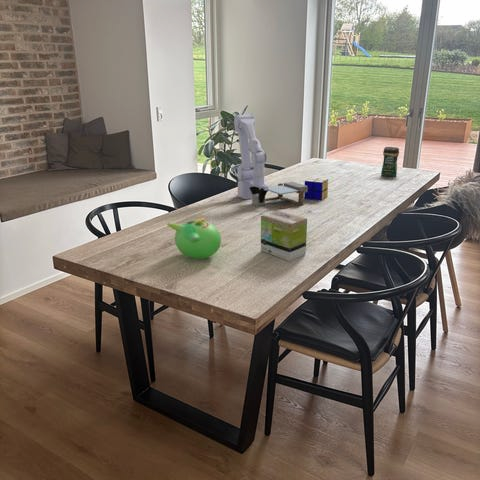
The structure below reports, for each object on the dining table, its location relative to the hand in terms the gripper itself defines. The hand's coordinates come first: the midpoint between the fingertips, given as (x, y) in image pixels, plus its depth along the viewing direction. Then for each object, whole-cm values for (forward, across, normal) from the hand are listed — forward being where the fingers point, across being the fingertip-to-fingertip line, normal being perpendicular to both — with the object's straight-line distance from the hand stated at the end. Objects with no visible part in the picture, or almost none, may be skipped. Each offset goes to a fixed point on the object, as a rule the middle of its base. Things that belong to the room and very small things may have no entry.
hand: (258, 201), depth 254 cm
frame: (+1, +5, +11) cm, 12 cm away
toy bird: (+2, +49, -62) cm, 79 cm away
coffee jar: (+2, -9, +109) cm, 109 cm away
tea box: (+2, +64, -33) cm, 72 cm away
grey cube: (+1, 0, 0) cm, 1 cm away
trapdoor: (-4, +5, +14) cm, 15 cm away
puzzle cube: (+2, +7, +33) cm, 34 cm away
